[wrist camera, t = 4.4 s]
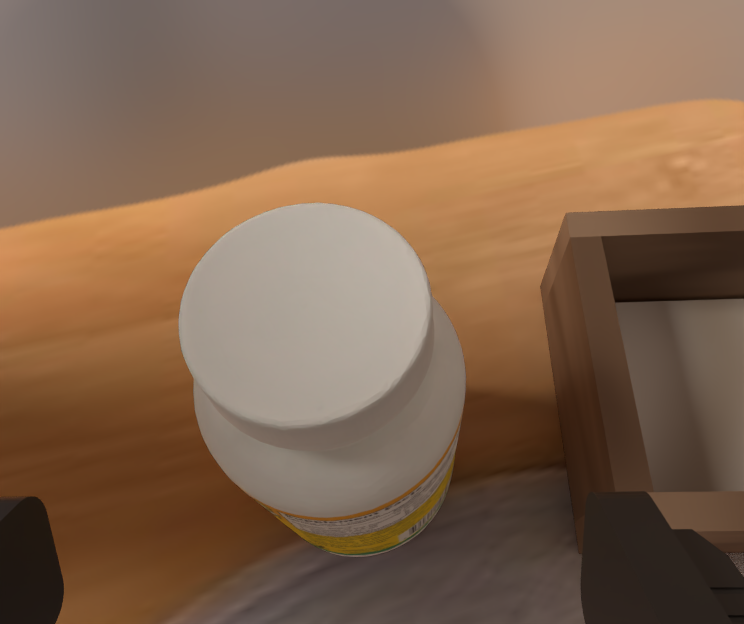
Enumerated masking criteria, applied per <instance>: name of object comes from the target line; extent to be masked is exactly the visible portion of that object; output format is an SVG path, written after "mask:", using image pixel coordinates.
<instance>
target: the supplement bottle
mask: <svg viewBox="0 0 744 624" xmlns="http://www.w3.org/2000/svg"><path fill="white" fill-rule="evenodd" d="M179 338H180V345H181V351H182V354H183V356H184V359H185V362H186V364H187V366H188V368H189V370H190V372H191V374H192V376H193V378H194V388H193V394H194V407H195V413H196V417H197V421H198V425H199V428H200V432H201V434H202V437H203V439H204V441H205V443H206V445H207V447H208V449H209V451H210V453H211V455H212V456H213V458H214V459H215V460H216V462H217V463H218V465H219V466H220V467H221V469H222V470H223V471H224V472H225V474H226V475H227V476H228V477H229V478H230V479H231V480H232V481H233V482H234V483H235V484H236V485H237V486H238V487H239V488H241V490H242V491H243V492H244V493H246V494H247V495H249V496H250V497H251V498H253V499H254V500H255V501H256V502H258V503H259V504H260V505H262V506H263V507H264V508H265V509H267V510H268V511H269V512H270V513H272V514H273V515H274V516H275V517H276V518H278V519H279V520H280V521H281V522H282V523H284V524H285V525H286V526H287V527H289V528H290V529H291V530H293V531H294V532H295V533H297V534H298V535H299V536H300V537H302V538H303V539H304V540H306V541H307V542H309V543H310V544H312V545H314V546H316V547H317V548H319V549H321V550H324V551H326V552H329V553H332V554H335V555H340V556H349V557H365V556H372V555H377V554H381V553H385V552H388V551H390V550H393V549H395V548H397V547H400V546H401V545H403V544H405V543H407V542H408V541H410V540H411V539H413V538H414V537H415V536H417V535H418V534H419V533H420V532H421V531H422V530H423V529H424V528H425V527H426V526H427V525H428V524H429V523H430V522H431V520H432V519H433V518H434V517H435V515H436V513H437V512H438V510H439V509H440V507H441V505H442V503H443V501H444V499H445V496H446V494H447V491H448V488H449V485H450V481H451V477H452V473H453V467H454V460H455V453H456V447H457V442H458V437H459V431H460V426H461V421H462V415H463V409H464V402H465V392H466V372H465V363H464V356H463V352H462V348H461V345H460V342H459V339H458V336H457V334H456V331H455V329H454V327H453V325H452V323H451V321H450V319H449V317H448V316H447V314H446V313H445V311H444V310H443V308H442V307H441V306H440V304H439V303H438V302H437V301H436V299H435V298H434V297H433V296H432V293H431V288H430V283H429V280H428V277H427V274H426V271H425V269H424V267H423V264H422V262H421V260H420V258H419V257H418V255H417V254H416V252H415V251H414V249H413V248H412V247H411V245H410V244H409V243H408V242H407V241H406V240H405V239H404V238H403V237H402V236H401V235H400V234H399V233H398V232H397V231H396V230H395V229H393V228H392V227H391V226H389V225H388V224H386V223H385V222H383V221H382V220H380V219H378V218H376V217H374V216H373V215H370V214H368V213H366V212H364V211H360V210H357V209H354V208H351V207H347V206H341V205H336V204H325V203H302V204H296V205H290V206H285V207H280V208H276V209H273V210H270V211H266V212H264V213H262V214H259V215H257V216H255V217H252V218H250V219H248V220H246V221H245V222H243V223H241V224H240V225H238V226H236V227H234V228H232V229H231V230H230V231H228V232H227V233H226V234H225V235H223V236H222V237H221V238H220V239H219V240H218V241H217V242H216V243H215V244H214V245H213V246H212V247H211V248H210V249H209V250H208V251H207V252H206V253H205V255H204V256H203V257H202V259H201V260H200V261H199V263H198V264H197V266H196V267H195V269H194V270H193V272H192V274H191V276H190V278H189V281H188V283H187V285H186V288H185V291H184V294H183V297H182V300H181V306H180V312H179Z"/></svg>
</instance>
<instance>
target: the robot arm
mask: <svg viewBox="0 0 744 624" xmlns="http://www.w3.org/2000/svg"><path fill="white" fill-rule="evenodd" d="M63 595H64V583H63V578H62V574H61V569H60V565H59V561H58V557H57V553H56V549H55V545H54V541H53V536H52V532H51V528H50V524H49V520H48V516H47V512H46V509H45V506H44V504H43V503H42V501H41V500H40V499H38V498H37V497H0V624H55V623H56V621H57V618H58V616H59V613H60V610H61V607H62V602H63ZM581 601H582V608H583V614H584V619H585V624H744V577H743V576H742V574H741V573H740V572H739V570H738V569H737V568H736V566H735V565H734V563H733V562H732V561H731V559H730V558H729V557H728V555H726V554H725V553H724V552H722V551H721V550H720V549H718V548H717V547H716V546H714V545H713V544H712V543H710V542H709V541H708V540H706V539H705V538H704V537H702V536H701V535H699V534H698V533H697V532H695V531H694V530H693V529H672V528H671V527H670V525H669V524H668V522H667V521H666V519H665V518H664V516H663V515H662V513H661V511H660V510H659V508H658V507H657V505H656V504H655V502H654V501H653V499H652V498H651V496H650V495H649V494H648V493H647V492H645V491H626V492H590V493H589V494H588V496H587V499H586V505H585V519H584V535H583V551H582V567H581Z"/></svg>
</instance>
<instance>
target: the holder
mask: <svg viewBox="0 0 744 624" xmlns="http://www.w3.org/2000/svg"><path fill="white" fill-rule="evenodd" d="M540 288H541V294H542V301H543V308H544V315H545V322H546V329H547V336H548V343H549V350H550V357H551V364H552V370H553V377H554V384H555V391H556V398H557V405H558V412H559V419H560V426H561V433H562V439H563V446H564V453H565V460H566V467H567V474H568V481H569V488H570V495H571V502H572V509H573V515H574V522H575V529H576V536H577V543H578V550H579V554H582V551H583V535H584V519H585V505H586V499H587V496H588V494H589V493H590V492H626V491H645V492H647V493H648V494H649V495H650V496H651V498H652V499H653V501H654V502H655V504H656V505H657V507H658V508H659V510H660V511H661V513H662V515H663V516H664V518H665V519H666V521H667V522H668V524H669V525H670V527H671V528H672V529H693V530H694V531H695V532H697V533H698V534H699V535H701V536H702V537H704V538H705V539H706V540H708V541H709V542H710V543H712V544H713V545H714V546H716V547H717V548H718V549H720V550H721V551H722V552H724V553H744V206H720V207H695V208H671V209H646V210H622V211H598V212H573V213H566V214H565V217H564V219H563V222H562V225H561V228H560V231H559V234H558V237H557V240H556V243H555V246H554V248H553V251H552V254H551V257H550V260H549V263H548V266H547V269H546V272H545V274H544V277H543V280H542V283H541V286H540Z"/></svg>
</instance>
